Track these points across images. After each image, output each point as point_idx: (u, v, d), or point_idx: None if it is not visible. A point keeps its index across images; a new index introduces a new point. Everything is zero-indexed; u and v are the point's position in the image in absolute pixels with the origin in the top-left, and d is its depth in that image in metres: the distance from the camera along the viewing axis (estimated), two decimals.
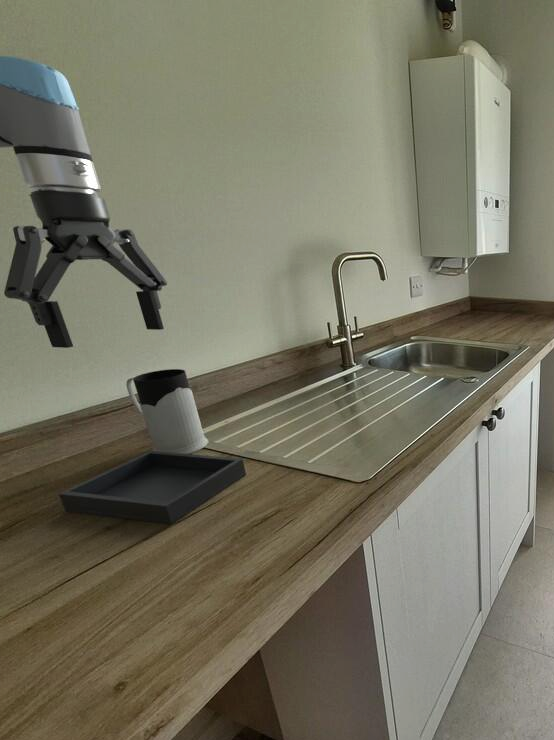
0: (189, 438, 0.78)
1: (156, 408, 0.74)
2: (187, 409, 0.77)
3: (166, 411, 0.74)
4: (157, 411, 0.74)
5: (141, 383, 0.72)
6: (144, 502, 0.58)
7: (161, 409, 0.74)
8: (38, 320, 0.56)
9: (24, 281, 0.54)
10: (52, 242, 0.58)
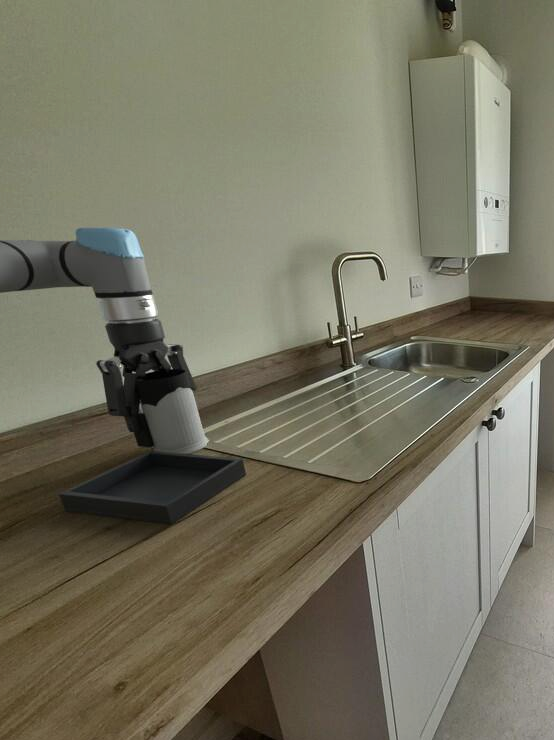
0: (190, 438, 0.78)
1: (157, 407, 0.74)
2: (188, 409, 0.77)
3: (166, 411, 0.74)
4: (157, 411, 0.74)
5: (141, 383, 0.72)
6: (144, 502, 0.58)
7: (162, 409, 0.74)
8: (130, 429, 0.74)
9: (120, 404, 0.70)
10: (121, 362, 0.72)
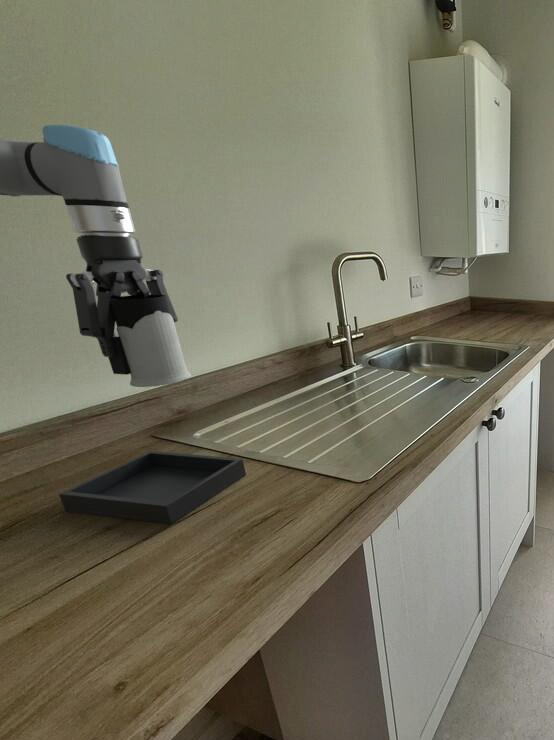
0: (169, 367, 0.73)
1: (134, 330, 0.69)
2: (167, 335, 0.72)
3: (144, 335, 0.70)
4: (134, 334, 0.69)
5: (117, 302, 0.67)
6: (144, 502, 0.58)
7: (139, 332, 0.69)
8: (104, 352, 0.69)
9: (92, 322, 0.66)
10: (94, 279, 0.67)
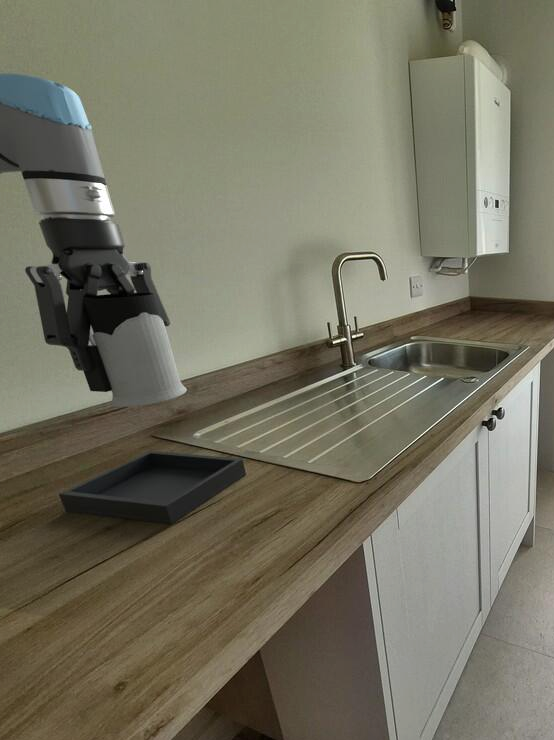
0: (160, 382, 0.59)
1: (114, 337, 0.55)
2: (156, 343, 0.59)
3: (127, 342, 0.56)
4: (114, 342, 0.55)
5: (91, 302, 0.54)
6: (144, 502, 0.58)
7: (120, 339, 0.55)
8: (78, 365, 0.55)
9: (60, 328, 0.52)
10: (63, 273, 0.53)
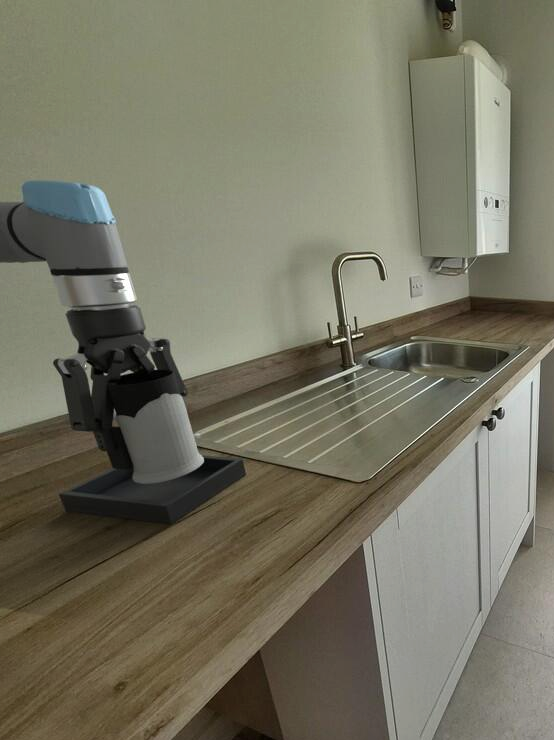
0: (179, 457, 0.61)
1: (136, 419, 0.57)
2: (176, 420, 0.60)
3: (148, 423, 0.58)
4: (136, 424, 0.57)
5: (115, 388, 0.56)
6: (144, 502, 0.58)
7: (142, 421, 0.57)
8: (101, 447, 0.57)
9: (86, 415, 0.54)
10: (88, 361, 0.55)
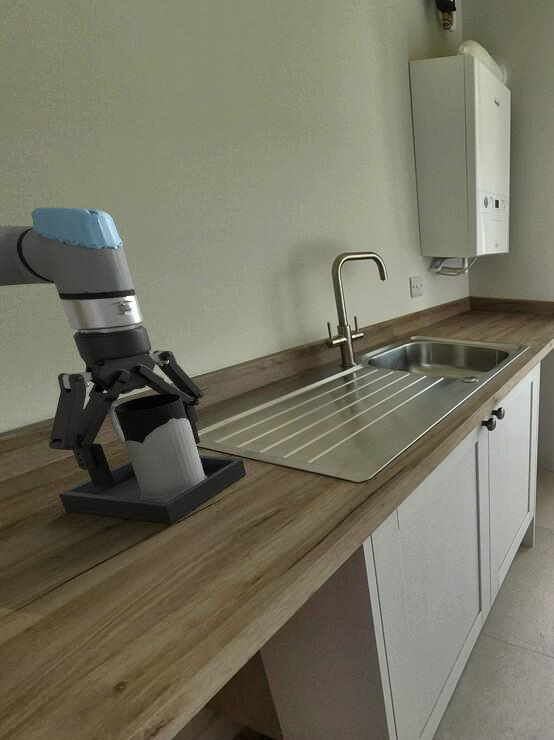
0: (186, 480, 0.63)
1: (144, 444, 0.58)
2: (183, 444, 0.62)
3: (156, 448, 0.59)
4: (145, 448, 0.59)
5: (124, 414, 0.57)
6: (144, 502, 0.58)
7: (150, 446, 0.59)
8: (81, 465, 0.55)
9: (69, 432, 0.52)
10: (95, 381, 0.56)
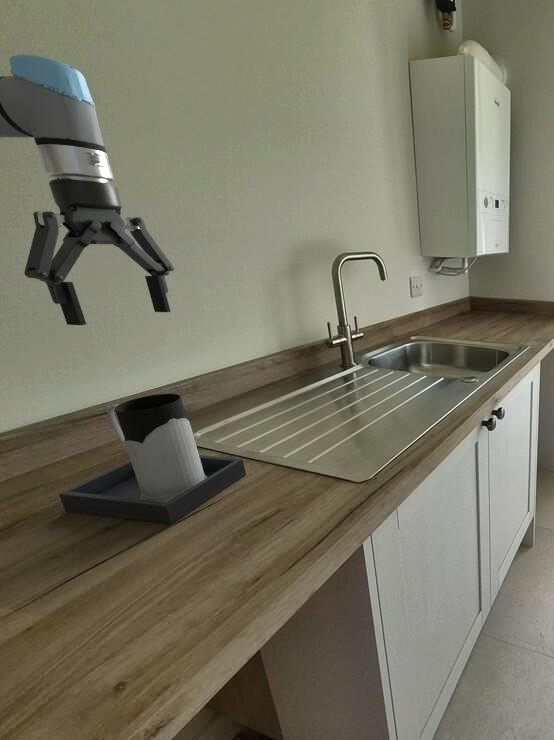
0: (186, 480, 0.63)
1: (144, 444, 0.58)
2: (183, 444, 0.62)
3: (156, 448, 0.59)
4: (145, 448, 0.59)
5: (124, 414, 0.57)
6: (144, 502, 0.58)
7: (150, 446, 0.59)
8: (55, 299, 0.61)
9: (42, 262, 0.59)
10: (68, 227, 0.62)
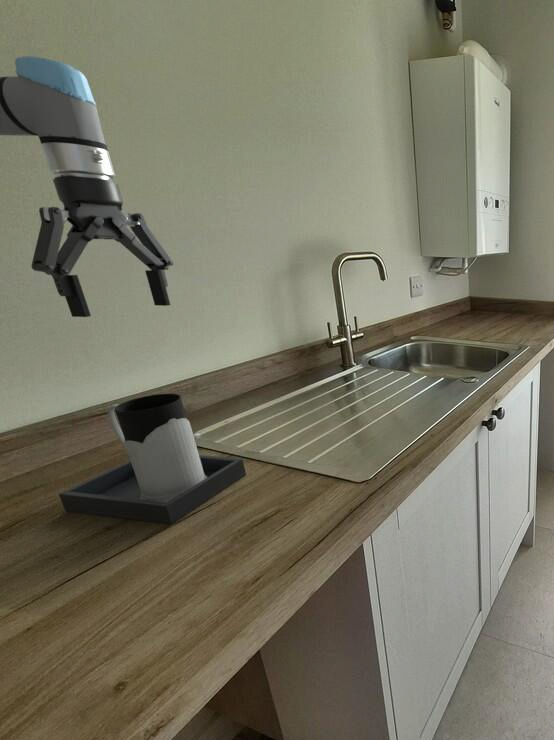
0: (186, 480, 0.63)
1: (144, 444, 0.58)
2: (183, 444, 0.62)
3: (156, 448, 0.59)
4: (145, 448, 0.59)
5: (124, 414, 0.57)
6: (144, 502, 0.58)
7: (150, 446, 0.59)
8: (60, 291, 0.64)
9: (49, 256, 0.61)
10: (72, 222, 0.65)
